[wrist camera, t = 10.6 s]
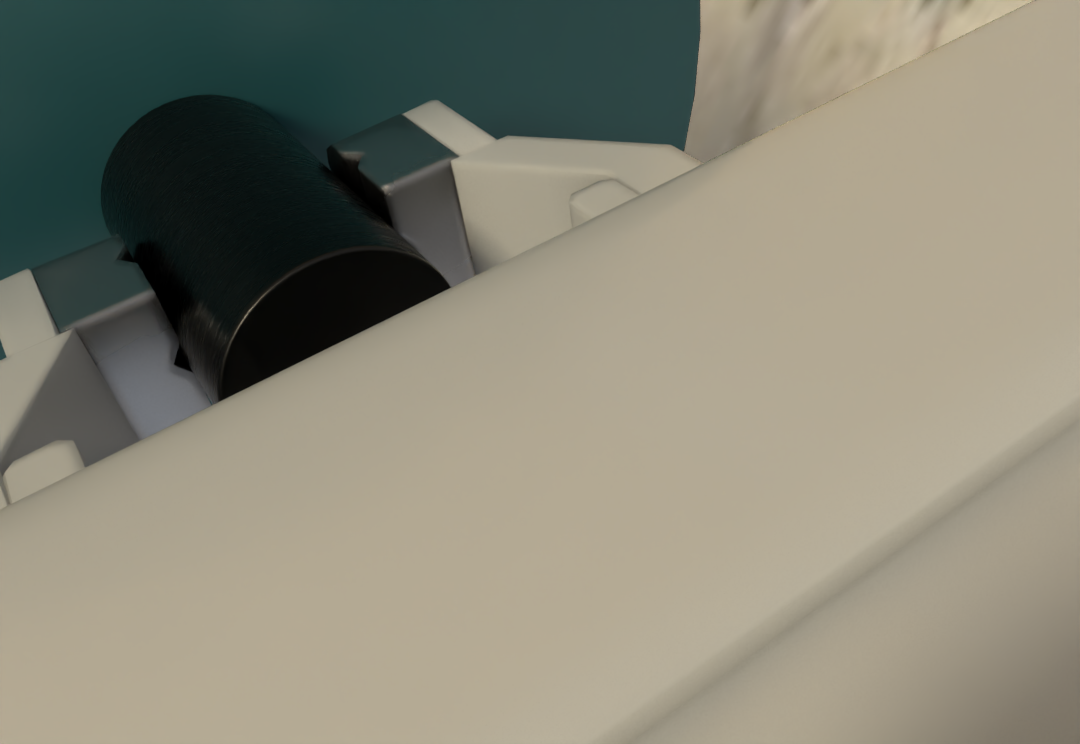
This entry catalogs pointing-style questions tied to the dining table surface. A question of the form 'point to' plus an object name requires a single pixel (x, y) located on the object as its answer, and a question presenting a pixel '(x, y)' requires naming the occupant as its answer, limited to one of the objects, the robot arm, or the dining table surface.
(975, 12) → the dining table surface
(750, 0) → the dining table surface
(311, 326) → the lid
